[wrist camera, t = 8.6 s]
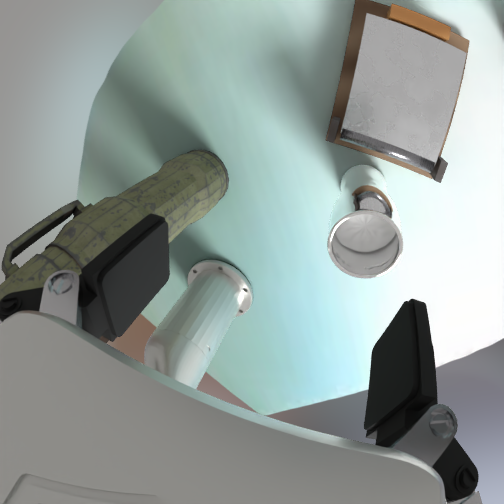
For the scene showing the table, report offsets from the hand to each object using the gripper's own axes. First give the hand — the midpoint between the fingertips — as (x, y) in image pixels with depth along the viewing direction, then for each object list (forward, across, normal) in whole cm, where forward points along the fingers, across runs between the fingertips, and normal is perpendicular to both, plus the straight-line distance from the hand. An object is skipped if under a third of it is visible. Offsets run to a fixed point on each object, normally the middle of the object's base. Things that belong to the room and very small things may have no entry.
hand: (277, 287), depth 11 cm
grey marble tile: (+24, -6, -9) cm, 27 cm away
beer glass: (+28, -5, +5) cm, 29 cm away
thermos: (+28, +17, +10) cm, 35 cm away
